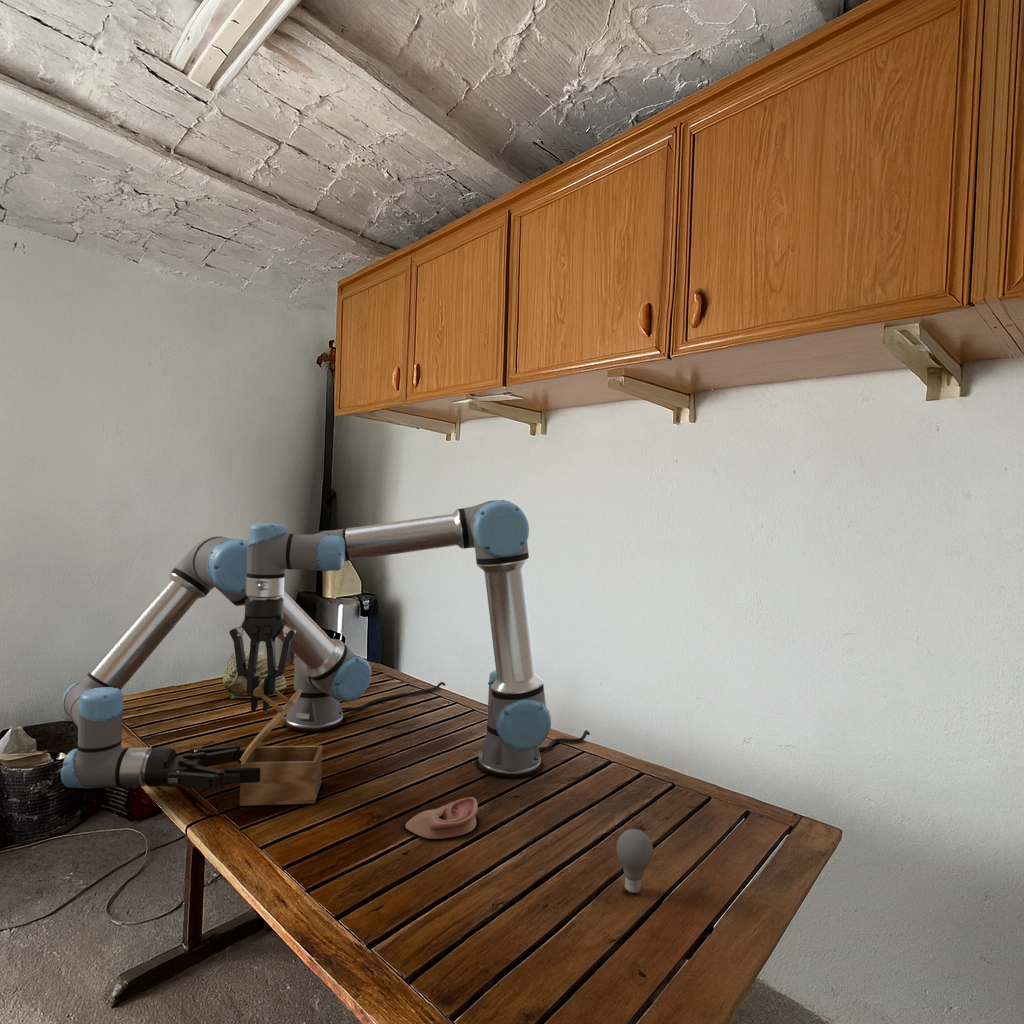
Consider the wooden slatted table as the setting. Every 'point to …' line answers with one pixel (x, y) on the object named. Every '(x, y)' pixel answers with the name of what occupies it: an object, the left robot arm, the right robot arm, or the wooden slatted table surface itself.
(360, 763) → the wooden slatted table surface
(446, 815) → the anatomical model
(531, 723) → the right robot arm
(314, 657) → the left robot arm
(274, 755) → the chest
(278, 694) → the lid
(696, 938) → the wooden slatted table surface
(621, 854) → the light bulb
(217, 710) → the wooden slatted table surface
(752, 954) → the wooden slatted table surface
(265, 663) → the fossil
